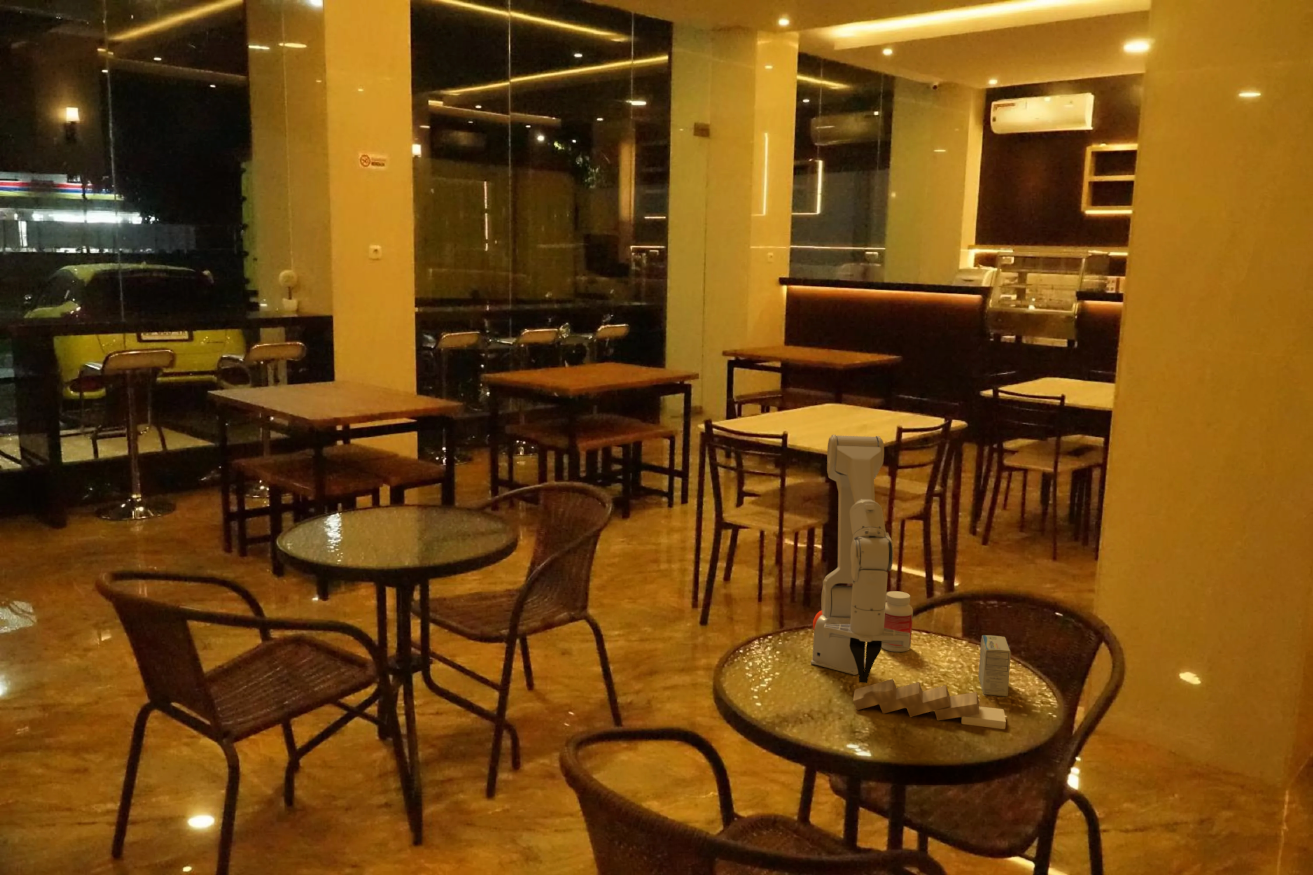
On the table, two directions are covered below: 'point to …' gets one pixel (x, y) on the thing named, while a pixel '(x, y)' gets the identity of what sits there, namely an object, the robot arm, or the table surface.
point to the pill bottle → (898, 617)
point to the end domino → (986, 718)
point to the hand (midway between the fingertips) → (863, 680)
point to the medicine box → (994, 665)
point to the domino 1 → (874, 694)
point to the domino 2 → (904, 698)
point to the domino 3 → (931, 701)
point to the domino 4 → (960, 706)
